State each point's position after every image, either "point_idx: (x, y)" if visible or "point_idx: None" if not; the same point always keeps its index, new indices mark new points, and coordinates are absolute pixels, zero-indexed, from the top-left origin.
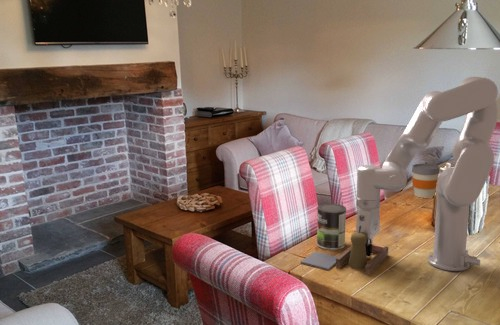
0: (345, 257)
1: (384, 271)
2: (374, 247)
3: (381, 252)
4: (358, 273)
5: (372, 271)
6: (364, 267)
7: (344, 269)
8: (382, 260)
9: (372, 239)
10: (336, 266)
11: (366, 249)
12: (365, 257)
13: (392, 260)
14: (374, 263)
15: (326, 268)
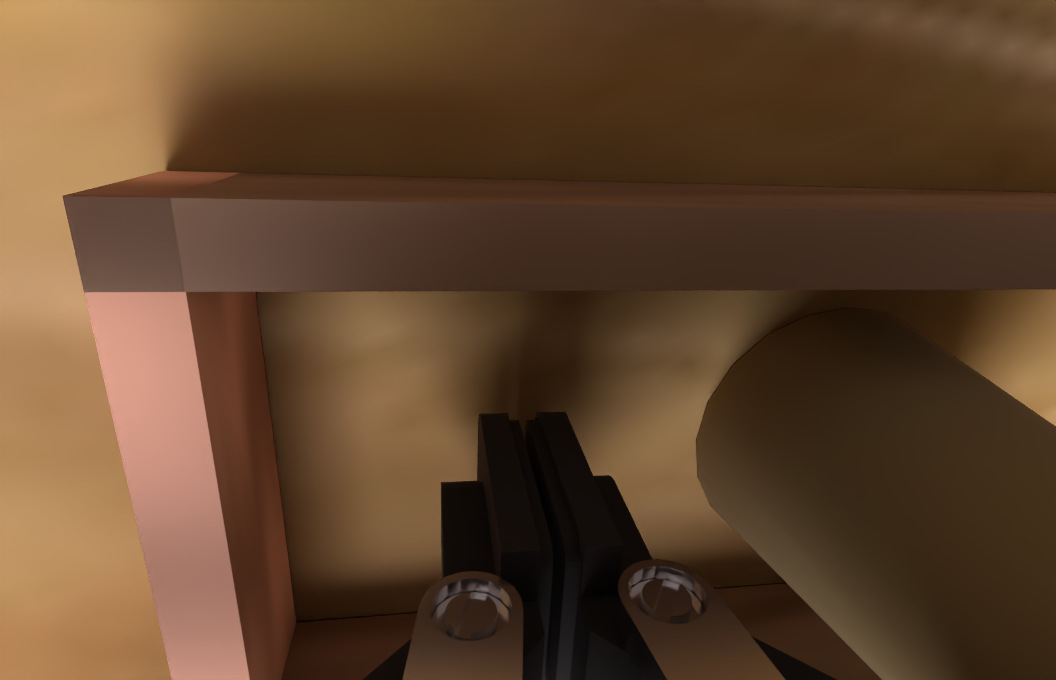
0: (842, 642)
1: (896, 9)
2: (233, 475)
3: (522, 238)
4: (1052, 336)
5: (958, 190)
6: (916, 331)
7: None
8: (503, 180)
9: (413, 654)
10: None
11: (636, 533)
12: (998, 404)
13: (353, 9)
14: (976, 205)
15: None
